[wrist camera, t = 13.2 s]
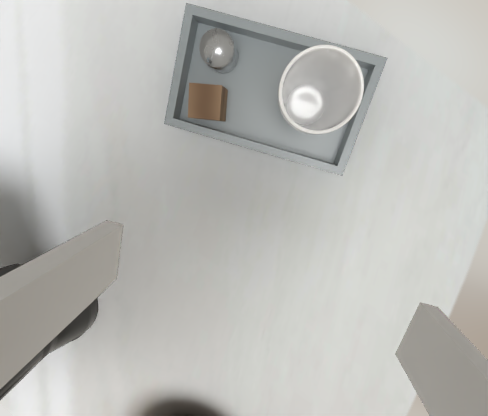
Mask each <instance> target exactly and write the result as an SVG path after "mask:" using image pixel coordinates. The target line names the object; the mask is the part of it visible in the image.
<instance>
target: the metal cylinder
mask: <svg viewBox="0 0 488 416" xmlns="http://www.w3.org/2000/svg"><path fill="white" fill-rule="evenodd" d="M199 51H200V55H201V57H202V59H203V60H204V62H205V63H206V64H207V65H209V66H210V67H211V68H212V69H213V70H214V71H215V72H217V73H221V74H225V73H228V72H230V71H232V70H233V69H234V68H235V66H236V64H237V62H238V51H237V48H236V46H235V44H234V42H233V40H232V39H231V37H230V35H229V34H228V33H227V32H226V31H224V30H223V29H219V28H213V29H210V30H208V31H207V32H206V33H205V34H204V35H203V36H202V38H201V40H200V45H199Z"/></svg>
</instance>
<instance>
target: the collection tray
mask: <svg viewBox="0 0 488 416" xmlns="http://www.w3.org/2000/svg"><path fill="white" fill-rule="evenodd" d="M213 28H219V29H223V30H224V31H226V32H227V33H228V34H229V35H230V37H231V39H232V40H233V42H234V44H235V46H236V48H237V51H238V62H237V64H236V66H235V68H234V69H233V70H232V71H230V72H228V73H225V74H221V73H217V72H215V71H214V70H213V69H212V68H211V67H210V66H209V65H207V64H206V63H205V62H204V60H203V59H202V57H201V55H200V51H199V45H200V40H201V38H202V36H203V35H204V34H205V33H206V32H207V31H208V30H210V29H213ZM317 45H333V46H337V47H340V48H342V49H344V50H346V51H347V52H348V53H350V54H351V55H352V56H353V57H354V58H355V60H356V61H357V63H358V64H359V66H360V68H361V71H362V74H363V79H364V92H363V97H362V101H361V103H360V106H359V108H358V110H357V111H356V113H355V114H354V116H353V117H352V118H351V119H350V120H349V121H348V122H347V123H346V124H345V125H343V126H342V127H340V128H339V129H337V130H335V131H332V132H329V133H325V134H319V135H310V134H305V133H301V132H299V131H297V130H295V129H293V128H292V127H291V126H290V125H289V124H288V123H287V122H286V121H285V120H284V118H283V116H282V115H281V112H280V109H279V105H278V88H279V83H280V80H281V77H282V74H283V72H284V70H285V68H286V67H287V65H288V64H289V62H290V61H291V60H292V59H293V58H294V57H295V56H296V55H298V54H299V53H300V52H302V51H303V50H305V49H307V48H310V47H313V46H317ZM386 61H387V58H386V57H382V56H378V55H375V54H371V53H367V52H364V51H360V50H356V49H353V48H349V47H345V46H342V45H338V44H335V43H331V42H327V41H324V40H320V39H316V38H313V37H309V36H305V35H302V34H298V33H294V32H291V31H287V30H283V29H280V28H276V27H272V26H269V25H265V24H261V23H258V22H254V21H250V20H247V19H243V18H239V17H236V16H232V15H228V14H225V13H221V12H218V11H214V10H210V9H207V8H203V7H199V6H196V5H192V4H188V3H186V7H185V13H184V18H183V24H182V29H181V35H180V40H179V46H178V51H177V56H176V62H175V67H174V73H173V78H172V84H171V89H170V95H169V100H168V106H167V111H166V117H165V122H164V124H166V125H170V126H173V127H177V128H180V129H184V130H187V131H190V132H194V133H197V134H201V135H204V136H207V137H211V138H214V139H218V140H221V141H225V142H228V143H231V144H235V145H238V146H242V147H245V148H248V149H252V150H255V151H259V152H262V153H266V154H269V155H272V156H276V157H279V158H283V159H286V160H289V161H293V162H296V163H300V164H303V165H307V166H310V167H313V168H317V169H320V170H324V171H327V172H330V173H334V174H337V175H341V176H342V175H343V172H344V170H345V167H346V165H347V162H348V159H349V157H350V154H351V152H352V149H353V146H354V144H355V141H356V139H357V136H358V133H359V131H360V128H361V126H362V123H363V120H364V118H365V115H366V113H367V110H368V107H369V105H370V102H371V100H372V97H373V94H374V92H375V89H376V87H377V84H378V81H379V79H380V76H381V74H382V71H383V68H384V66H385V63H386ZM189 83H201V84H212V85H222V86H223V87H225V88H226V89H227V90H228V95H227V108H226V122H225V121H215V120H205V119H195V118H188V99H189Z"/></svg>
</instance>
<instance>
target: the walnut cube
mask: <svg viewBox="0 0 488 416" xmlns="http://www.w3.org/2000/svg"><path fill="white" fill-rule="evenodd" d="M227 95H228V90H227V89H226V88H225V87H223V86H222V85H212V84H201V83H189V99H188V118H195V119H205V120H215V121H225V122H226V108H227Z"/></svg>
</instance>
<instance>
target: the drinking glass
mask: <svg viewBox="0 0 488 416" xmlns="http://www.w3.org/2000/svg"><path fill="white" fill-rule="evenodd" d="M363 92H364V79H363V74H362V71H361V68H360V66H359V64H358V63H357V61H356V60H355V58H354V57H353V56H352V55H351V54H350V53H348V52H347V51H346V50H344V49H342V48H340V47H337V46H333V45H317V46H313V47H310V48H307V49H305V50H303V51H302V52H300V53H299V54H298V55H296V56H295V57H294V58H293V59H292V60H291V61H290V62H289V64H288V65H287V67H286V68H285V70H284V72H283V74H282V77H281V80H280V83H279V88H278V105H279V109H280V112H281V115H282V116H283V118H284V120H285V121H286V122H287V123H288V124H289V125H290V126H291V127H292V128H293V129H295V130H297V131H299V132H301V133H305V134H310V135H319V134H325V133H329V132H332V131H335V130H337V129H339V128H340V127H342V126H343V125H345V124H346V123H347V122H348V121H349V120H350V119H351V118H352V117H353V116H354V114H355V113H356V111H357V110H358V108H359V106H360V103H361V101H362V97H363Z"/></svg>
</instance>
